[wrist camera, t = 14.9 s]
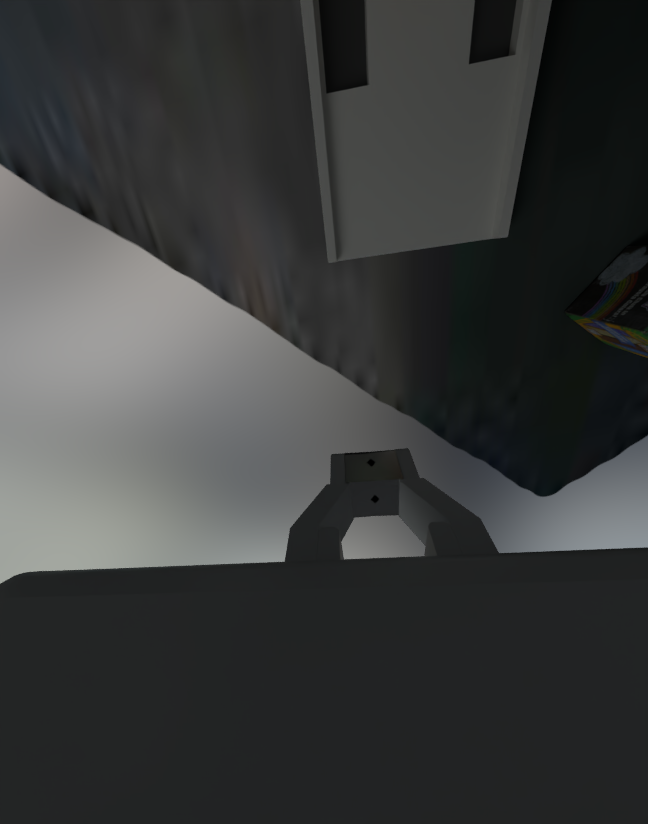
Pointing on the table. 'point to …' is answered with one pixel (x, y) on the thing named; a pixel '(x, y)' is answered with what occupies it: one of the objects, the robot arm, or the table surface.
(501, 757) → the robot arm
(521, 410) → the table surface
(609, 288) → the chalk box
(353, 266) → the table surface
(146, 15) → the table surface
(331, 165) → the box
